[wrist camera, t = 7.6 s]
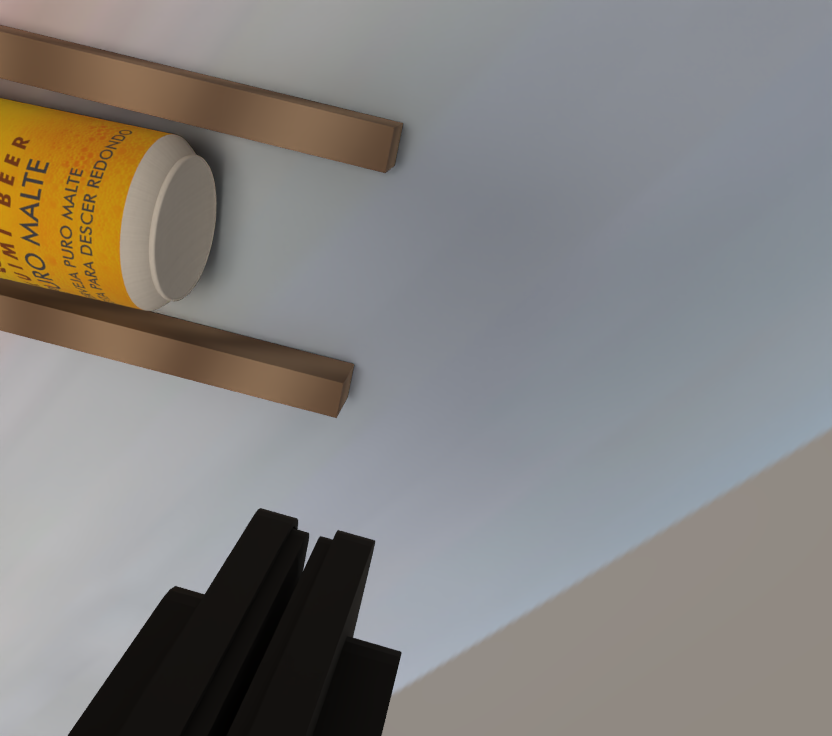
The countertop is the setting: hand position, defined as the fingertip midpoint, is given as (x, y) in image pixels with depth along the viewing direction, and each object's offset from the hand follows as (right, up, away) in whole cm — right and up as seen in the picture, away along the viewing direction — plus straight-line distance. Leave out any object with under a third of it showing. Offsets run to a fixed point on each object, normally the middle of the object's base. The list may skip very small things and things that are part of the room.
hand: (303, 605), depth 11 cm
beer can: (-6, +8, +15) cm, 18 cm away
